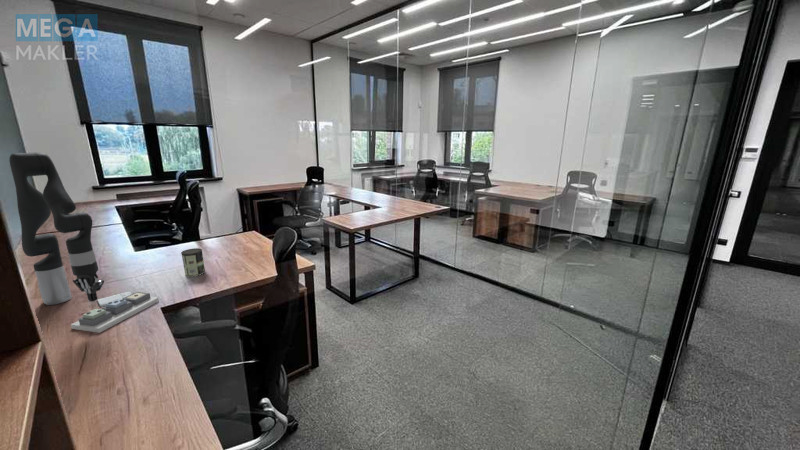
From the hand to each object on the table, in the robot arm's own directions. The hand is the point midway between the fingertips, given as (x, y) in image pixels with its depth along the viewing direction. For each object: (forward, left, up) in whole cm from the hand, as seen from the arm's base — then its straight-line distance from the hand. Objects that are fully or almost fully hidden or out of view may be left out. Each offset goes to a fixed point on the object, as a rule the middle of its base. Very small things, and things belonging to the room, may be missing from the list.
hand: (93, 300), depth 133 cm
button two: (0, -1, -8) cm, 8 cm away
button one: (0, +17, -9) cm, 20 cm away
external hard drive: (-15, +19, -12) cm, 27 cm away
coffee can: (-2, +54, -11) cm, 56 cm away
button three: (0, +8, -8) cm, 11 cm away
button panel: (0, +8, -11) cm, 14 cm away
